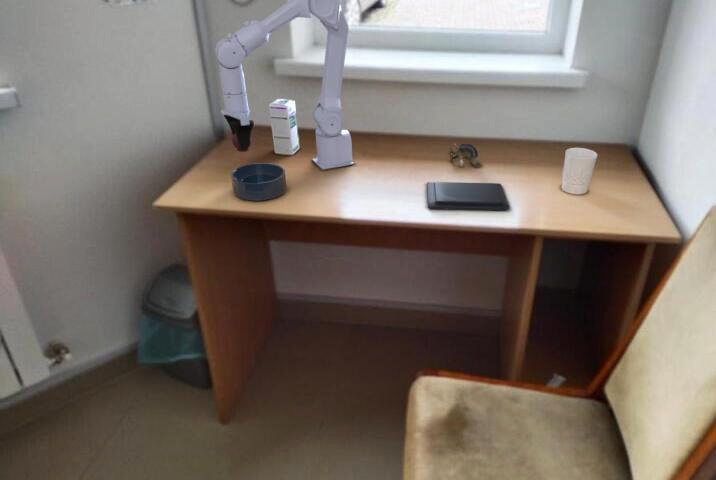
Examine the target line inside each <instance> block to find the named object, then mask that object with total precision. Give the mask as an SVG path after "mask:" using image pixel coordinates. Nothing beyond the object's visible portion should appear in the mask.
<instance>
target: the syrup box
mask: <svg viewBox="0 0 716 480" xmlns="http://www.w3.org/2000/svg"><path fill="white" fill-rule="evenodd" d="M296 108H297V107H296V101H295V100H294V99H288V98H276V99H275V100H274V101H272V102H271V103H269V104H268V111H269V118H270V126H271V127H270V128H271V134H272V140H273V141H272V144H273V150H274V151H273V152H274V154H277V155H285V156H293V155H295V154H296V152H298V150H300V149H301V146H300V135H299V128H298V127H299V126H298V118H297V117H298V116H297V109H296Z"/></svg>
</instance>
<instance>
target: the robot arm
mask: <svg viewBox="0 0 716 480" xmlns="http://www.w3.org/2000/svg"><path fill="white" fill-rule="evenodd" d="M312 16H314V17H315V18H317V19H318V20H319V21H320V24H321V25H323V27H324V29H326V32H327V34H326V44H325V53H324V62H323V63H324V64H323V72H322V81H321V82H322V83H321V92H320V94H319V97H318V99H317V103H316V107H315V108H314V110H313V113H312V117H313V120H314V122H315V124H317V126H316V128H315V131H314V133H315V144H316V157H314V158H312V162H314V163H315V164H316V165H317V166H318V167H319V168H320V170H329V169H334V168H340V167H345V166H346V167H347V166H351V165H354V161H353V142H352V136H351V133H350V131H349V130H347V129H343V128H344V120H343V116H342V110H343V109H342V104H341V103H342V102H341V93H342V85H343V78H344V69H345V63H346V62H345V61H346V54H347V47H348V46H347V44H348V37H349V24H348V22H347V19H346V16H345V14H344V12H343V10H342V6H341V2H340V1H339V0H288V1H287V2H286V3H284V4H282V5H281V6H280V7H279V8H277V9H276V10H275V11H273V12H272V13H271V14H269V15H268V16H267V17H266V18H264V19H263V20H261V21H260V20H259V21H258V20H255V19H253V20H251V21H250V22H249V20H246V21H244V22H243V25H244V26H243V27H241V28H239V29H238V30H237V31H235V32H233V33H231V32H230V33H228V34H227V35H226V36H227V38H223V39H220V40H219V41H217V43H216V45H215V50H214V54H215V56H216V58H217V60H218V70H219V80H220V85H221V92H222V97H223V105H224V109H221V110H220V114H221V115H222V116H223V117H224V119H225V121H226V122H227V124H228V126H229V128H230V130H231V134H232V136H233V135H234V134H235V133H236V136H237V139H238V142H239V145H240V147H241V149H243V148H249V149H250V146H251V145H250V138H251V136H252V131H253V128H254V124H255V122H254V120H252V119H250V113H251V110H250V107H249V101H248V94H247V86H246V80H245V73H244V71H243V64H242V63H243V61H244V58H246V57H247V58H248V57H249V56H251V55H252V54H253V53H254V52H256V51H258V50H259V49H261V48H262V47H264V46H265V45H266V44H268V43H269V38H270V35H271V34H273V33H274V32H275V31H277V30H279V29H281V28H283V27H284V26H285V25H287V24H289V23H290V22H292V21H294V20H295V19H296V18H303V19H304V18H305V19H312ZM249 145H250V146H249Z"/></svg>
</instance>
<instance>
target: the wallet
mask: <svg viewBox="0 0 716 480" xmlns="http://www.w3.org/2000/svg"><path fill="white" fill-rule="evenodd" d="M426 198H427V208H428V209H429V210H438V211H439V210H440V211H486V212H487V211H491V212H492V211H493V212H506V211H508V210H509V209H510V205H509V204H510V203H509V201H508V199H507V196H506V194H505V191H504V189H503V186H502V183H499V182H497V183H496V182H467V181H465V182H463V181H462V182H461V181H459V182H458V181H426Z"/></svg>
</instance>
